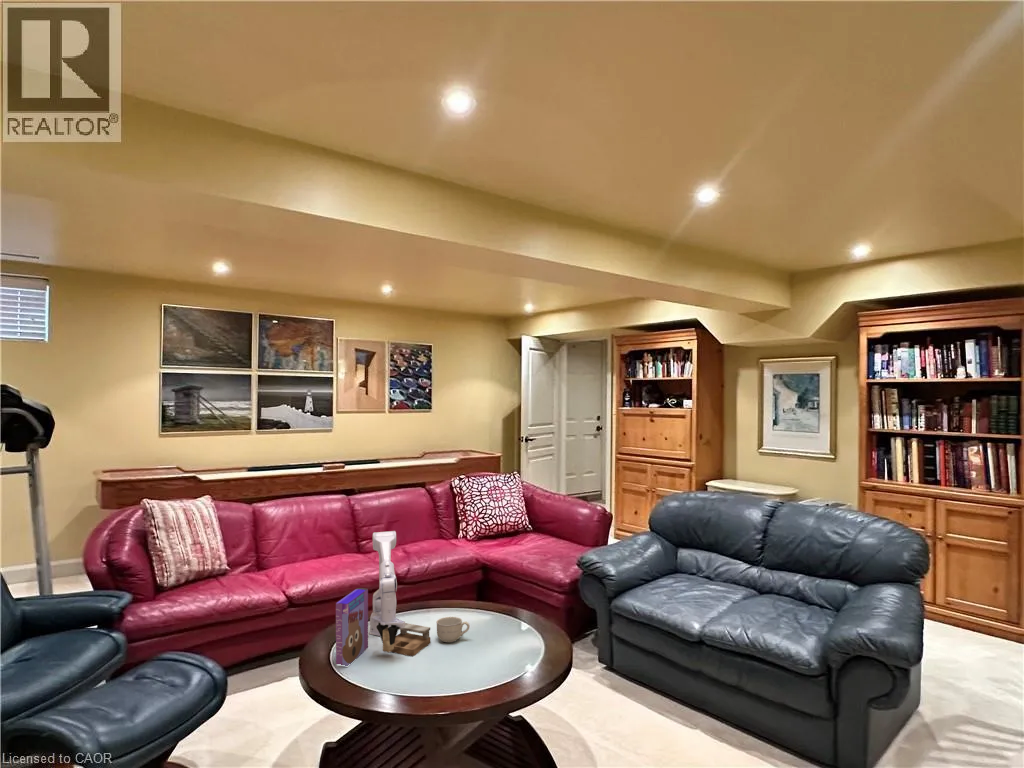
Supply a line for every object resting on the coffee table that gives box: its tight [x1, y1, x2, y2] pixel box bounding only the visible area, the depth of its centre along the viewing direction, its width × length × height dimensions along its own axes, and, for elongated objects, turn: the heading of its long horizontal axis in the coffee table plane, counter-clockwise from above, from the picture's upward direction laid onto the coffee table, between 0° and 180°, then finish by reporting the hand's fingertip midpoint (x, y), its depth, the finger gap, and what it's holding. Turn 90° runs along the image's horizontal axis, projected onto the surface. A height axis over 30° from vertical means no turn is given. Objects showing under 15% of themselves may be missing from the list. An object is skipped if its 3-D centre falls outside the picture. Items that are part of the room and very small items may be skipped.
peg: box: [382, 627, 394, 653], centre depth 226 cm, size 3×3×8 cm
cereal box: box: [335, 587, 369, 666], centre depth 227 cm, size 17×5×24 cm, turn 168°
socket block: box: [389, 622, 431, 657], centre depth 235 cm, size 14×13×6 cm
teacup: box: [436, 616, 470, 643], centre depth 241 cm, size 14×11×8 cm
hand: (388, 643), depth 226 cm, fingers closed on peg, 3 cm apart
